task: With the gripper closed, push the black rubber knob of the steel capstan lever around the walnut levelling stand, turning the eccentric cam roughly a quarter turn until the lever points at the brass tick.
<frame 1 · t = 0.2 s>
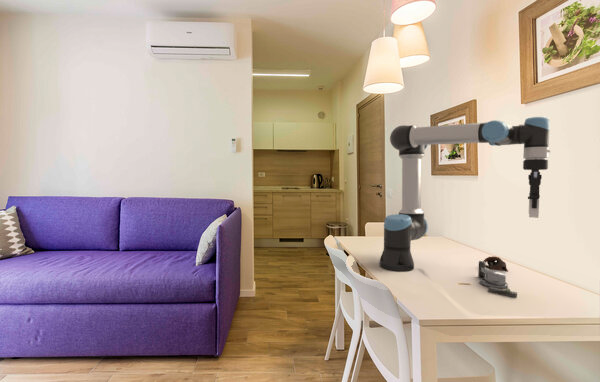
hand: (533, 215, 122), 27 cm above the table, fingers open, 13 cm apart
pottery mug: (494, 273, 139), on the table
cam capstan: (489, 274, 122), point 5 cm above the table, hinge at 0.0°
stand board: (488, 288, 119), on the table
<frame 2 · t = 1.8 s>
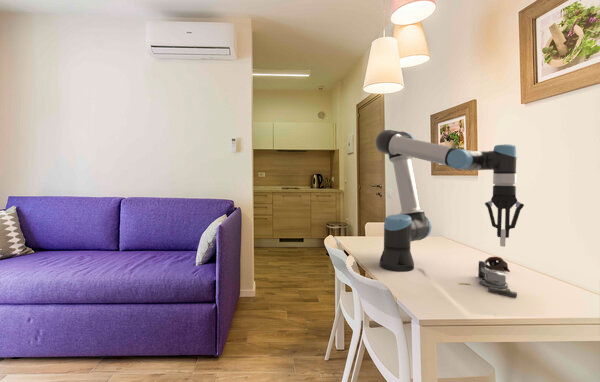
hand: (502, 245, 125), 15 cm above the table, fingers closed
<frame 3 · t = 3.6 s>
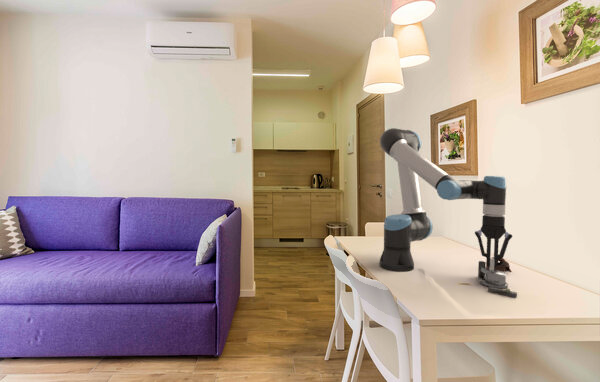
hand: (491, 274, 127), 3 cm above the table, fingers closed
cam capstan: (489, 274, 122), point 5 cm above the table, hinge at 0.3°, touching gripper
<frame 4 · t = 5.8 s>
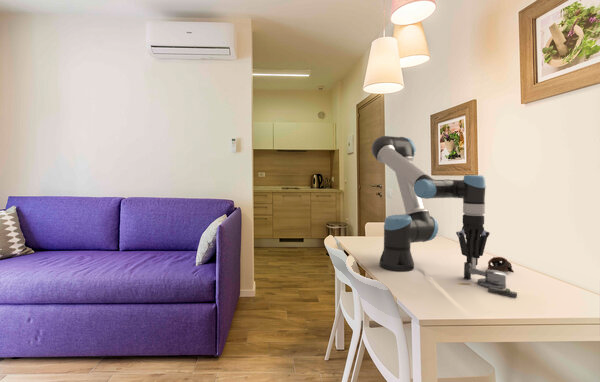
hand: (471, 273, 128), 3 cm above the table, fingers closed
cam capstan: (483, 274, 121), point 5 cm above the table, hinge at 41.3°, touching gripper
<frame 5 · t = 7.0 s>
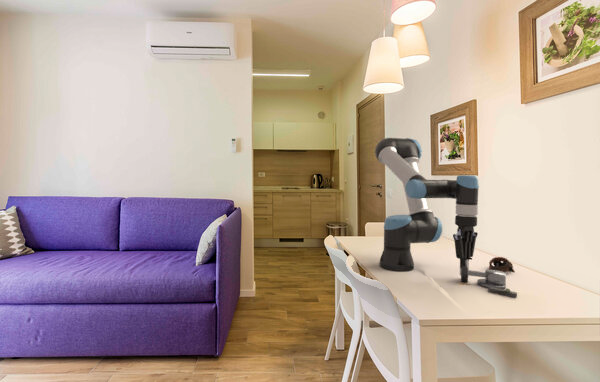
hand: (464, 275, 125), 3 cm above the table, fingers closed
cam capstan: (482, 275, 119), point 5 cm above the table, hinge at 68.7°, touching gripper
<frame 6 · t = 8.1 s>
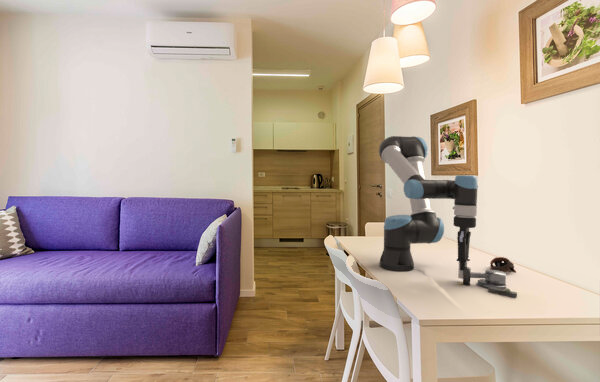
hand: (462, 278, 122), 3 cm above the table, fingers closed
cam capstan: (483, 276, 118), point 5 cm above the table, hinge at 88.3°, touching gripper
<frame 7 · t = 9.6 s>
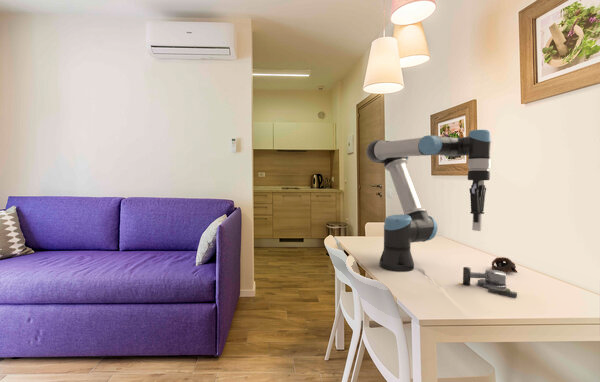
hand: (476, 230, 126), 20 cm above the table, fingers closed
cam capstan: (484, 276, 118), point 5 cm above the table, hinge at 88.5°
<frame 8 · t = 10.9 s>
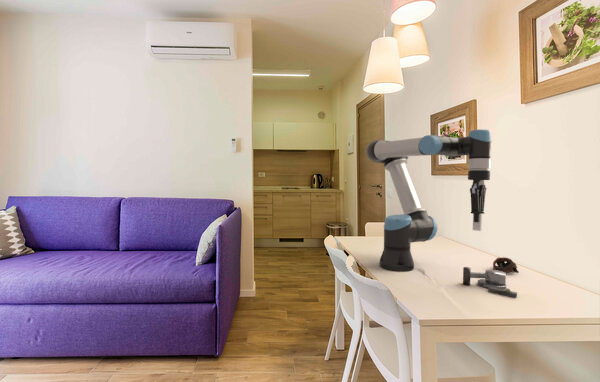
hand: (476, 230, 126), 20 cm above the table, fingers closed
at the end: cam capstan at +88° (first picture: +0°) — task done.
